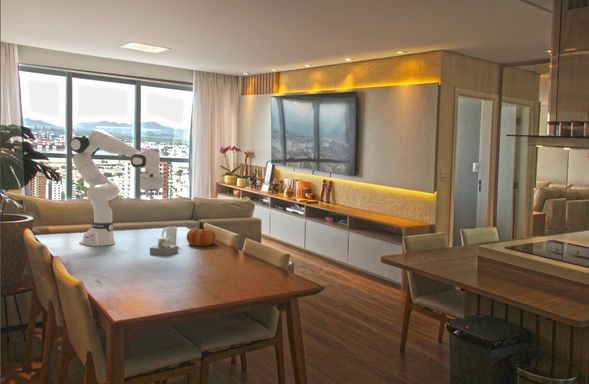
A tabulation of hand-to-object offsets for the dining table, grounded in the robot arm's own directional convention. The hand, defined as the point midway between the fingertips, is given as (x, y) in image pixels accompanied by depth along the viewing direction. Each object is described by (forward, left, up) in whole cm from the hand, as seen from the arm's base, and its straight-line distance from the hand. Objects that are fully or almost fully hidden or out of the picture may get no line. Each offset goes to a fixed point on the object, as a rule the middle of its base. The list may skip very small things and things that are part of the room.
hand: (152, 196), depth 316 cm
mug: (+6, +10, -33) cm, 35 cm away
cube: (+16, -11, -29) cm, 35 cm away
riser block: (+16, -11, -33) cm, 38 cm away
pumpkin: (+23, +22, -33) cm, 46 cm away
